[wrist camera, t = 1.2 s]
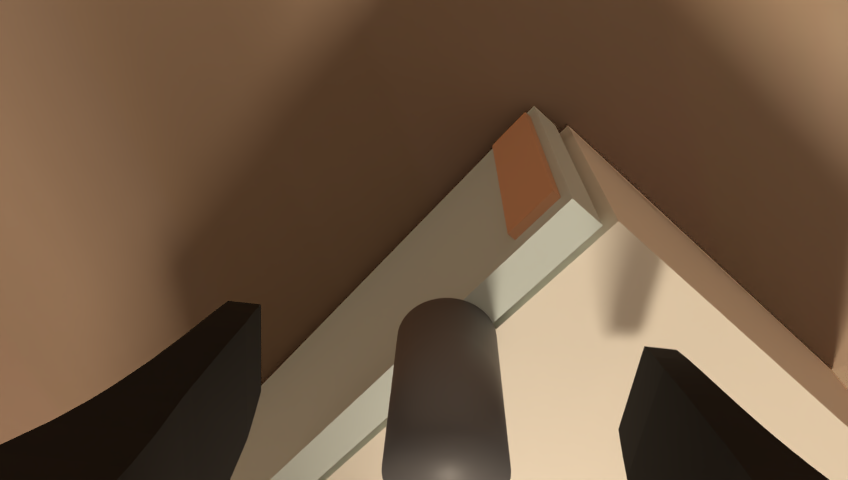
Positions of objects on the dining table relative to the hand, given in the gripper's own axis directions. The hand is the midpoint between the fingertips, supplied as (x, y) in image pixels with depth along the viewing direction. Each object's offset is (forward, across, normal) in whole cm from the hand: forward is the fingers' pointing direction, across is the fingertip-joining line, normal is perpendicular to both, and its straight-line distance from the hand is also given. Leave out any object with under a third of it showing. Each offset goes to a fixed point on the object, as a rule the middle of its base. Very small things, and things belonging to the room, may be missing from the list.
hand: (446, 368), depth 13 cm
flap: (+7, +2, +3) cm, 8 cm away
